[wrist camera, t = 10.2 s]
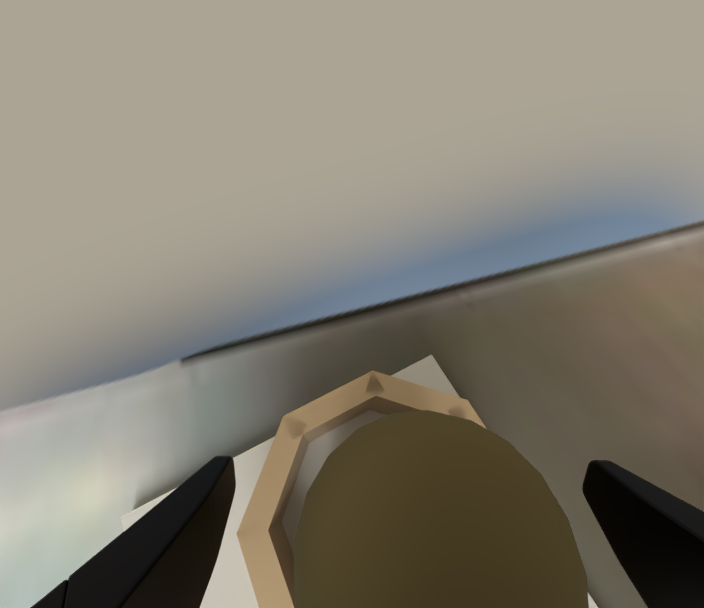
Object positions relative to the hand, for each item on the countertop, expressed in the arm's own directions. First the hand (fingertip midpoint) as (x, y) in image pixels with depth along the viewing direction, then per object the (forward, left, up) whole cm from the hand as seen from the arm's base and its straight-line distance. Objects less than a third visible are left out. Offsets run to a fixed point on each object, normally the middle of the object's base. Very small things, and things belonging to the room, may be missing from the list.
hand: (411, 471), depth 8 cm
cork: (-1, +1, -8) cm, 8 cm away
